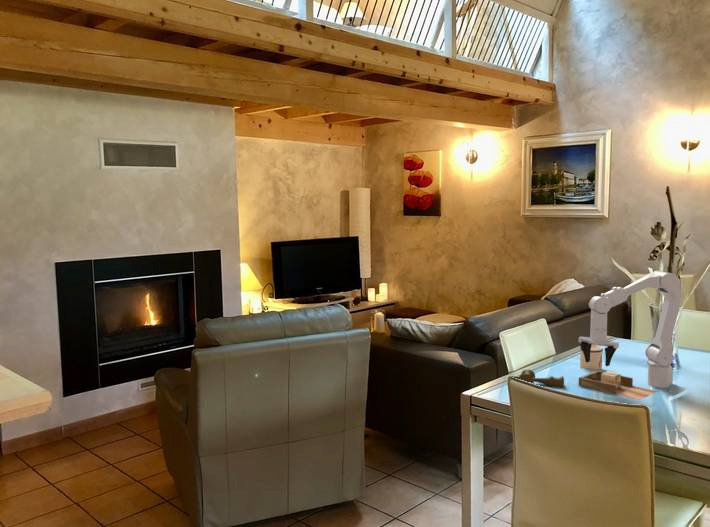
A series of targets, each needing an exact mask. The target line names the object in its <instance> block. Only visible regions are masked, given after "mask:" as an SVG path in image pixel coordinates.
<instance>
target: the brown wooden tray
mask: <svg viewBox="0 0 710 527" xmlns="http://www.w3.org/2000/svg"><path fill="white" fill-rule="evenodd" d="M604 372H605V371H602V370H595V371H593V372H590V373H587V374H585V375H581V376H580V377H578V386H579V387H583V388H588V389H591V390H596V391H600V392H605V393H609V394H613V395H617V396H622V397H625V398H630V399H634V400H637V401H641V400H643V399H644V398H646V397H648V396H651V395H653V394H655V393H657V392H658V390H653V389H648V388H645V387H640V386H635V385H634V384H633V383H634V380H633V377H630V376H625V375H621V380H620V387H619V388H616V385H613V384H608V383H604V382H601V374H602V373H604Z"/></svg>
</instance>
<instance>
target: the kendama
mask: <svg viewBox="0 0 710 527" xmlns="http://www.w3.org/2000/svg"><path fill="white" fill-rule="evenodd" d="M511 377H514V378H513V379H515V378H517V379H516V380H518V379H521V380H524V381H527V382H531V383H539V384H543V385H545V386H549V387H555V388H560V389H564V388H565V378H564V376H562V375H561V376H560V377H555V376H552V375H551V376H548V377H536V374H535V372H534V371H533V370H532V369H529V368H528V369H523V370H522V371H521V374H519V376H518V375H517V376H515V375H514V376H513V375H511ZM511 377H510V378H511Z"/></svg>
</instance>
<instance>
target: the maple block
mask: <svg viewBox="0 0 710 527" xmlns="http://www.w3.org/2000/svg"><path fill="white" fill-rule="evenodd" d="M603 372H604V373H602V374H601V382H604V383H608V384H613V385H616V388H619V387H620V380H621V376H622V373H618V372H613V371H609V370H607V371H603Z"/></svg>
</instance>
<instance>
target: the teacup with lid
mask: <svg viewBox="0 0 710 527" xmlns="http://www.w3.org/2000/svg"><path fill="white" fill-rule="evenodd" d="M579 350H580V352H579V354H580V357H579V360H580V362H579V363H580V364H579V368H580V369H587V370H588V369H589V370H602V369H603V352H604V349H603V346H602V347H601V346H600V345H595V344H592V345H591V351H590V362H586V361H585V356H584V353H583V351H582V349H581V347H580V346H579Z"/></svg>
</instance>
